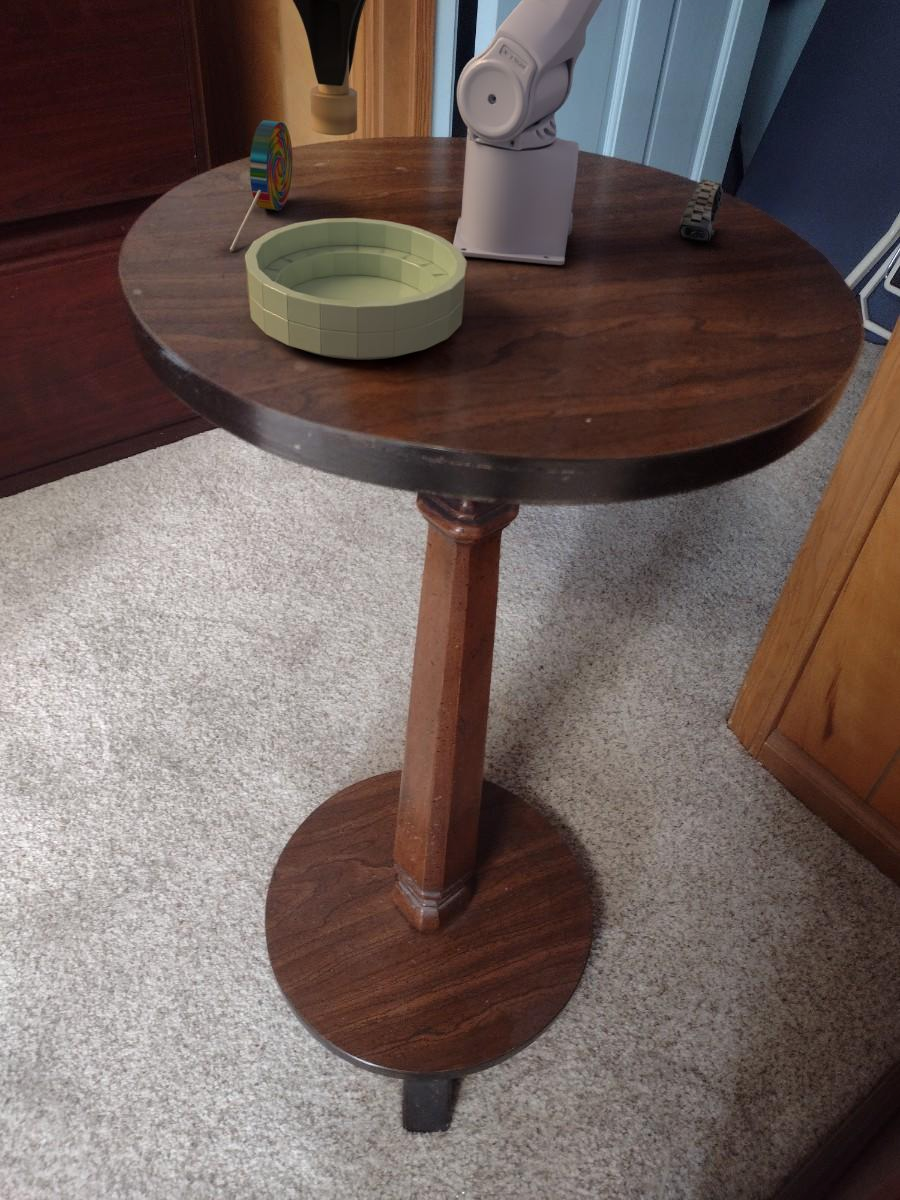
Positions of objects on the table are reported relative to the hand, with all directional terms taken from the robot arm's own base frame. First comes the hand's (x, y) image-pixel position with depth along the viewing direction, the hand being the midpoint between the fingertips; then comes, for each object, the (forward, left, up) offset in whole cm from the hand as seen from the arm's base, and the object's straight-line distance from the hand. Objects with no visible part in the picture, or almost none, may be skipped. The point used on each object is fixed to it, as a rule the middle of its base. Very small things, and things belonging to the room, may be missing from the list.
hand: (334, 79), depth 82 cm
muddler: (0, 0, -4) cm, 4 cm away
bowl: (-5, +23, -10) cm, 26 cm away
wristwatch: (-33, 0, -11) cm, 35 cm away
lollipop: (+6, +6, -11) cm, 13 cm away
